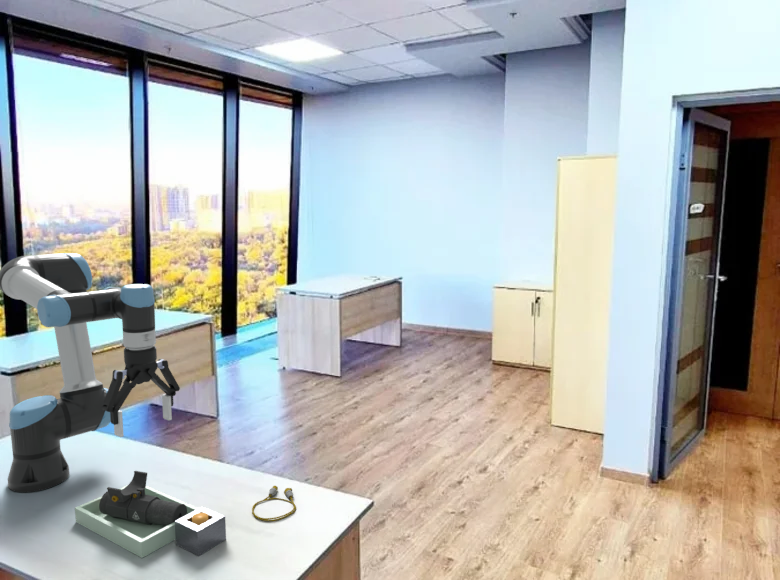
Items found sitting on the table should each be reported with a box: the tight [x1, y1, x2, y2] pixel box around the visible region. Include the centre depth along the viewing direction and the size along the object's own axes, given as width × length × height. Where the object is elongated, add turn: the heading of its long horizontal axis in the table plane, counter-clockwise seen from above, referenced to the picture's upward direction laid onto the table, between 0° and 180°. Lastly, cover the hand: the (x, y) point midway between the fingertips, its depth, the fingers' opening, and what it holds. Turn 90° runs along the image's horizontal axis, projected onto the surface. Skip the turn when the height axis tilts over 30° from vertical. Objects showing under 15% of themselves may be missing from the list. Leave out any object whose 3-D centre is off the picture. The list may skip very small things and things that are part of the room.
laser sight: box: [99, 470, 187, 526], centre depth 147 cm, size 10×22×10 cm, turn 73°
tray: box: [74, 484, 200, 559], centre depth 147 cm, size 27×17×4 cm, turn 57°
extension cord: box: [251, 485, 297, 522], centre depth 156 cm, size 12×16×2 cm
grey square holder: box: [175, 506, 227, 557], centre depth 139 cm, size 8×8×6 cm
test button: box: [192, 513, 208, 526], centre depth 139 cm, size 4×4×5 cm
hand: (144, 427), depth 151 cm, fingers open, 13 cm apart
